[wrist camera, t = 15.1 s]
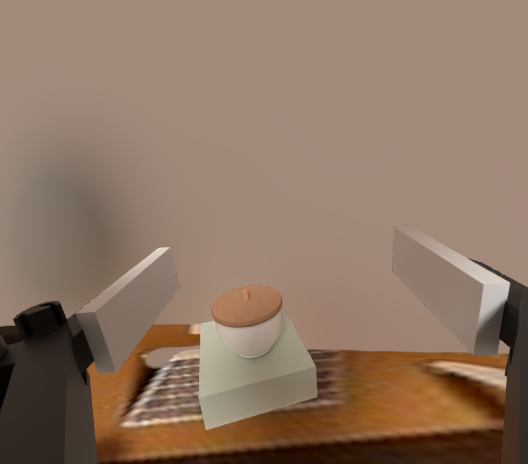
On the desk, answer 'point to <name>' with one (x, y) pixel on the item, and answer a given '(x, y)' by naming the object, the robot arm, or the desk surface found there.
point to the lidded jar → (249, 319)
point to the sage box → (253, 377)
